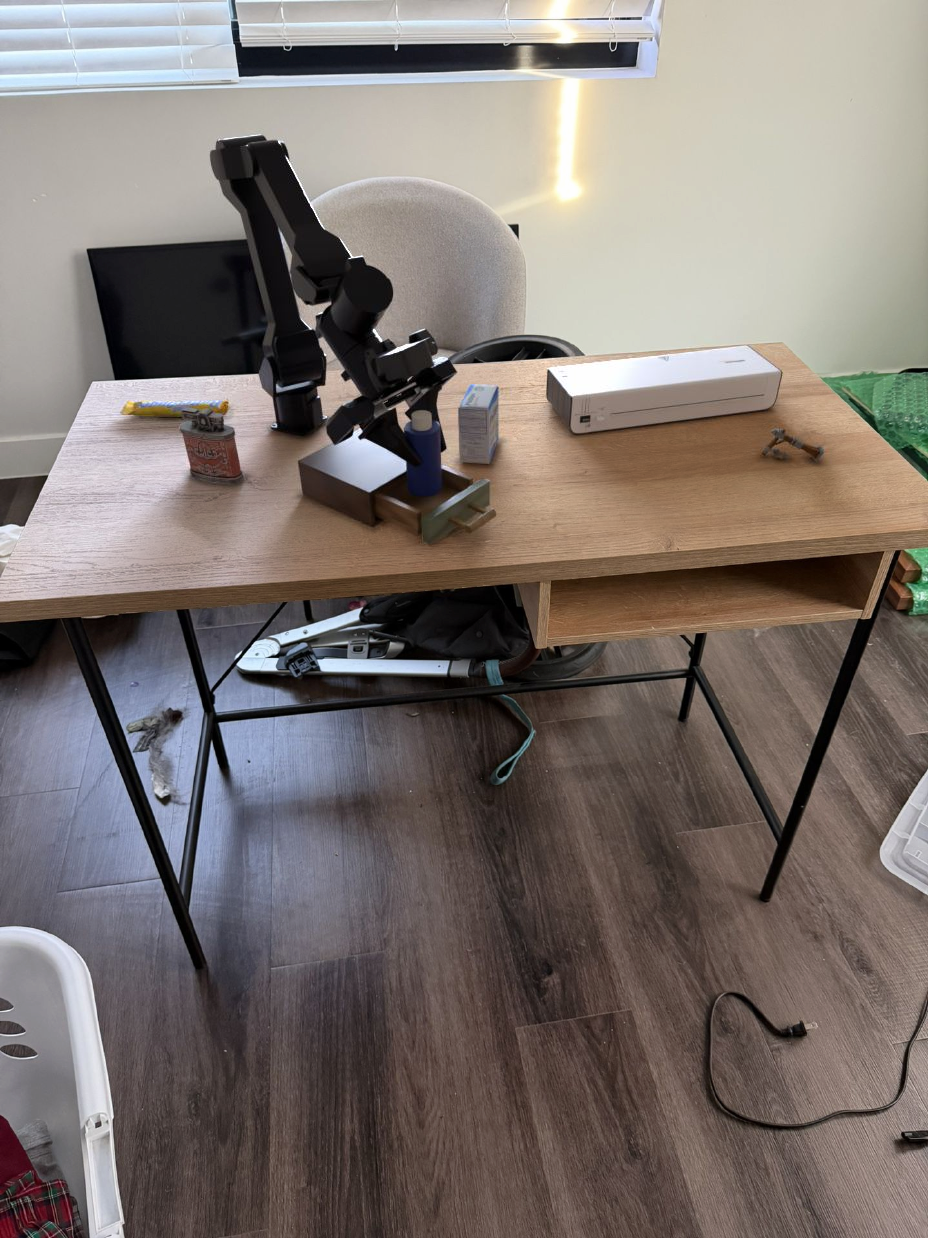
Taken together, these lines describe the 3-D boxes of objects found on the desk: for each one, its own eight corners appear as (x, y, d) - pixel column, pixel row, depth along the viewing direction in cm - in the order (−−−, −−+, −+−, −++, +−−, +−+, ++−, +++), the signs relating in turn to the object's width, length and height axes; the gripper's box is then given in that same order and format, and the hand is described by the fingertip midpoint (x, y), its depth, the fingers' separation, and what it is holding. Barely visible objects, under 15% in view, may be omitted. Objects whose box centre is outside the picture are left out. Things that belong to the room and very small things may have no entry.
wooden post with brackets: (755, 448, 122) (774, 422, 120) (802, 469, 124) (822, 444, 121) (757, 454, 121) (777, 428, 118) (805, 476, 123) (825, 450, 120)
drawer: (513, 514, 110) (513, 490, 108) (453, 556, 103) (452, 531, 101) (419, 475, 118) (418, 452, 116) (358, 512, 111) (355, 488, 109)
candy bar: (234, 406, 138) (232, 395, 137) (229, 418, 135) (226, 407, 133) (129, 408, 138) (126, 397, 137) (122, 420, 135) (118, 409, 133)
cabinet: (439, 486, 118) (438, 452, 114) (372, 527, 110) (369, 492, 106) (370, 457, 124) (367, 424, 121) (302, 494, 116) (297, 460, 113)
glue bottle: (401, 492, 109) (396, 418, 102) (417, 476, 112) (413, 403, 105) (432, 500, 107) (429, 425, 101) (447, 483, 110) (445, 409, 104)
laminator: (740, 380, 143) (747, 344, 139) (778, 412, 133) (787, 374, 129) (545, 404, 137) (547, 367, 133) (570, 439, 127) (573, 400, 124)
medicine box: (489, 465, 122) (489, 408, 116) (458, 463, 122) (457, 406, 117) (498, 439, 128) (499, 384, 122) (469, 437, 128) (468, 382, 123)
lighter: (248, 474, 121) (235, 408, 114) (236, 486, 118) (222, 419, 112) (199, 466, 123) (183, 400, 116) (185, 477, 120) (169, 411, 114)
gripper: (331, 337, 92) (413, 460, 94) (444, 290, 103) (515, 401, 105) (292, 387, 101) (367, 498, 103) (399, 339, 112) (465, 440, 114)
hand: (431, 458), depth 106 cm, fingers closed on glue bottle, 4 cm apart
